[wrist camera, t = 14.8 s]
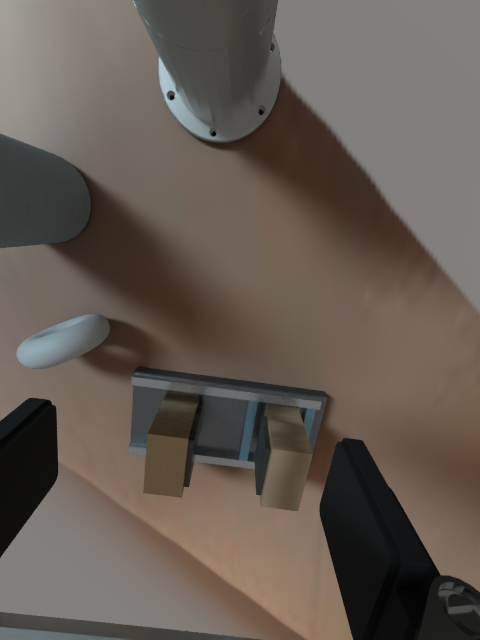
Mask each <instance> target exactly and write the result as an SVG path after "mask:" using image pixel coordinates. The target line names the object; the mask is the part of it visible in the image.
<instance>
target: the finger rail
mask: <svg viewBox="0 0 480 640" xmlns="http://www.w3.org/2000/svg"><path fill="white" fill-rule="evenodd" d="M131 385H134V387H133V407H132V428H131V442H130V444H129V446H128V454H136V455H144V456H146V462H145V477H144V492H143V493H148V494H157V495H165V496H173V497H182V495H183V490H184V486H185V487H189V484H190V479H191V474H192V469H193V465H194V462H200V463H209V464H217V465H225V466H233V467H241V468H249V469H255V459H254V455H255V450H256V445H257V440H258V435H259V430H260V425H261V420H262V416H264V415H265V410H266V405H267V404H273V405H280V406H287V407H295V408H299V411H300V414H301V417H302V420H303V424H304V427H305V430H306V433H307V437H308V440H309V443H310V446H311V450H312V453H314V449H315V445H316V441H317V437H318V433H319V429H320V425H321V421H322V417H323V414H324V410H325V406H326V402H327V398H328V397H327V395H326V393H325V392H324V391H317V390H309V389H302V388H294V387H287V386H279V385H272V384H264V383H257V382H249V381H242V380H234V379H227V378H219V377H212V376H204V375H197V374H189V373H182V372H174V371H167V370H159V369H152V368H144V367H138V368H137V369H136V370H135V372H134V374H133V376H132V379H131ZM312 457H313V456H312ZM311 461H312V460H311ZM310 465H311V464H310ZM309 469H310V467H309ZM308 472H309V471H308Z"/></svg>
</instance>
